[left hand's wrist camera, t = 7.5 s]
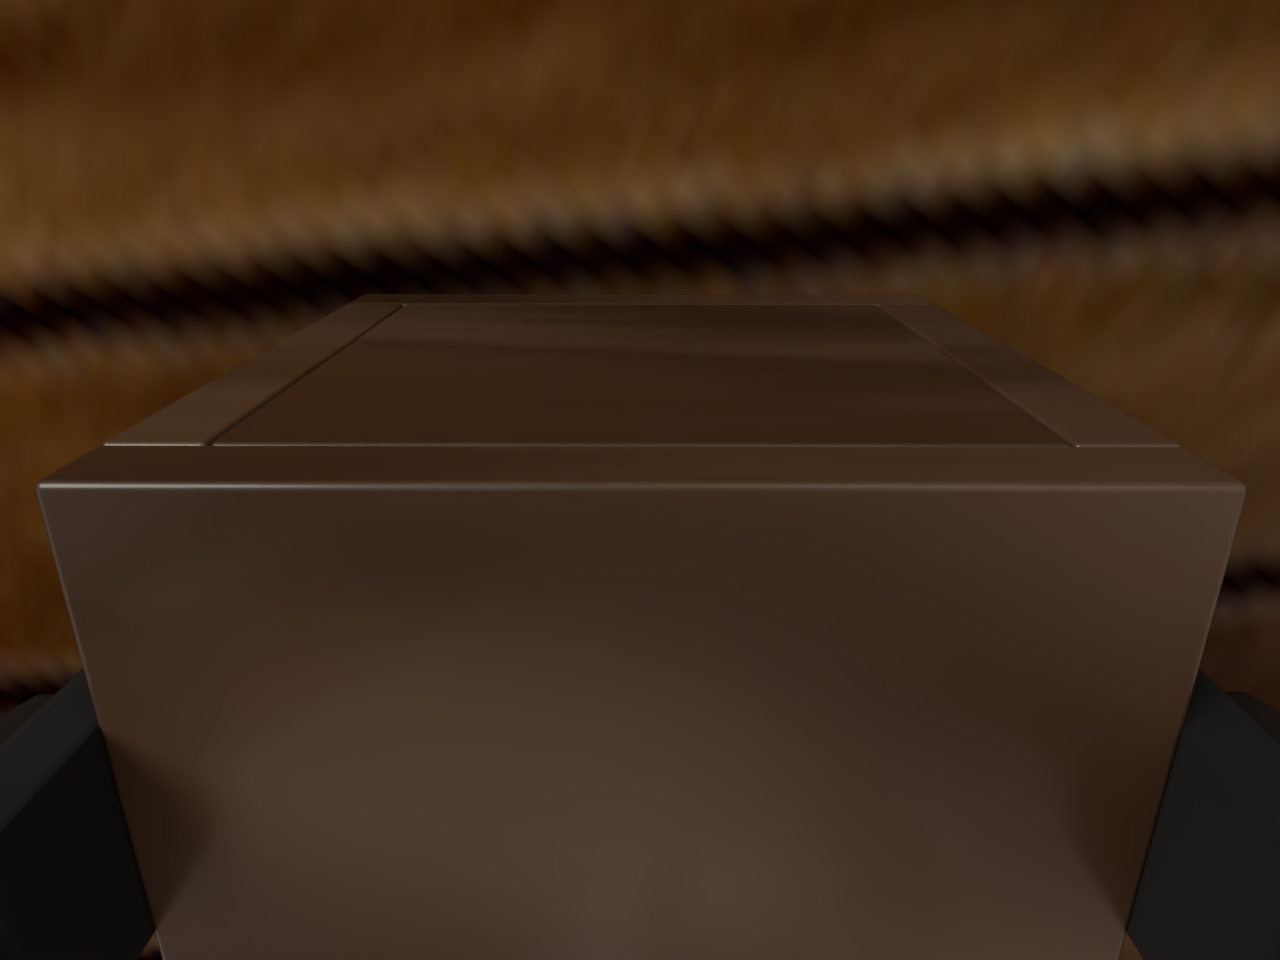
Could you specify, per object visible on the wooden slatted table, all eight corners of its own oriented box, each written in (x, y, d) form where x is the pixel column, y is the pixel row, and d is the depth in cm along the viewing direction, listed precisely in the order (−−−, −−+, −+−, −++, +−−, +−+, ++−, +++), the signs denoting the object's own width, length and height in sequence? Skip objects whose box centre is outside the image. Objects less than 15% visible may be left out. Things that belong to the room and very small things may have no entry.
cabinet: (839, 971, 23) (969, 1513, 14) (440, 971, 23) (308, 1512, 14) (919, 294, 17) (1255, 484, 8) (363, 293, 17) (27, 481, 8)
